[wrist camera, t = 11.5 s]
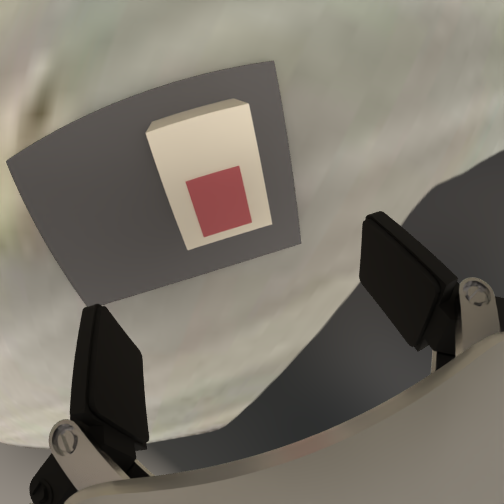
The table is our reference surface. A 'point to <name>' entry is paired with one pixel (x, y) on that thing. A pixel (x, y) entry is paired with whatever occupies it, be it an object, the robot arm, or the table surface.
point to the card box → (211, 171)
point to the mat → (147, 189)
